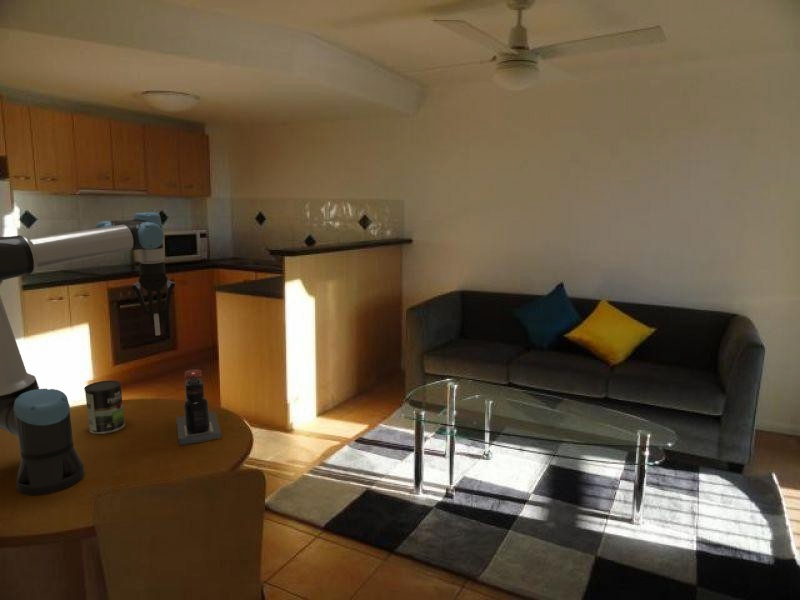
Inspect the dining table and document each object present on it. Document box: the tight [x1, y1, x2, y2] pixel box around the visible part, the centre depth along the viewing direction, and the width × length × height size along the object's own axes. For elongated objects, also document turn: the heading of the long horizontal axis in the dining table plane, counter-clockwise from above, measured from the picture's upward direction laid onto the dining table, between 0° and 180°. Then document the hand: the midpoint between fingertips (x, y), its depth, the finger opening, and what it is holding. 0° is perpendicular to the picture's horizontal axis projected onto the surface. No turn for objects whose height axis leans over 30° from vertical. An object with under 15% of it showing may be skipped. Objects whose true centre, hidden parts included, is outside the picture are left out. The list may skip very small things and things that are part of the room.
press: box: [175, 378, 222, 446], centre depth 179 cm, size 18×12×14 cm, turn 23°
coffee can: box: [84, 379, 126, 435], centre depth 182 cm, size 10×10×14 cm
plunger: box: [184, 369, 203, 384], centre depth 184 cm, size 5×5×12 cm
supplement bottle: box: [183, 389, 210, 433], centre depth 175 cm, size 7×7×12 cm
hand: (157, 334), depth 186 cm, fingers closed
